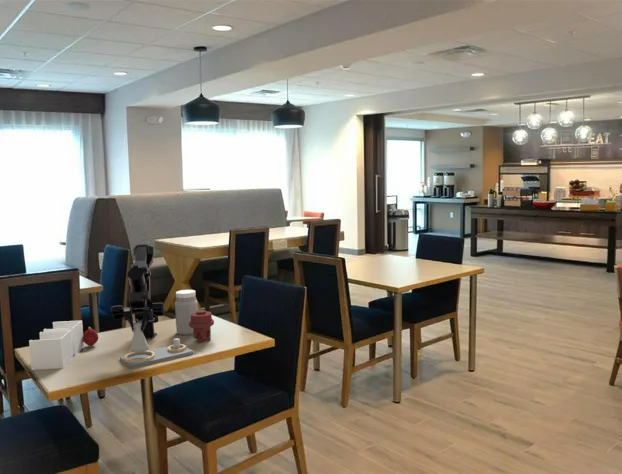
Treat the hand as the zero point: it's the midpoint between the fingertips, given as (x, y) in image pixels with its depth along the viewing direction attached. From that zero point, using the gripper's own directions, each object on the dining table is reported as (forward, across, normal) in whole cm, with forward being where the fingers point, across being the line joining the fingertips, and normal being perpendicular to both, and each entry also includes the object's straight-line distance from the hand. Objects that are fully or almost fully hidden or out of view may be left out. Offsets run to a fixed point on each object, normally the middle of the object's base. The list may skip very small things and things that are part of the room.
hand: (137, 331), depth 206 cm
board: (+6, +6, +11) cm, 14 cm away
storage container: (-1, -31, +19) cm, 36 cm away
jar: (-15, +17, +33) cm, 40 cm away
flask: (+5, 0, +6) cm, 8 cm away
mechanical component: (-6, +23, +23) cm, 33 cm away
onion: (-9, -21, +26) cm, 35 cm away
